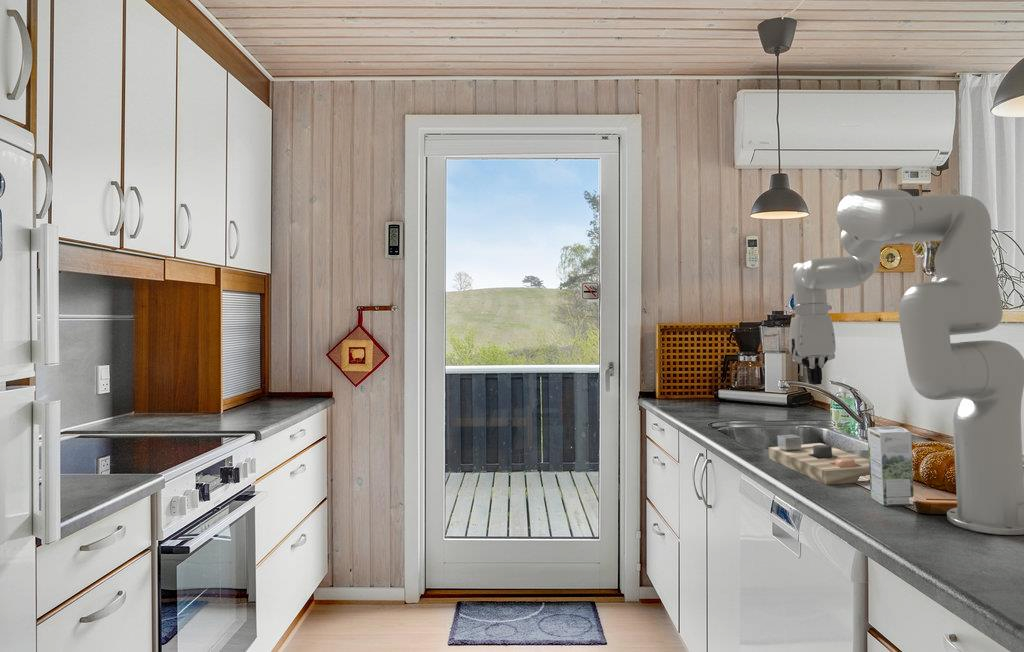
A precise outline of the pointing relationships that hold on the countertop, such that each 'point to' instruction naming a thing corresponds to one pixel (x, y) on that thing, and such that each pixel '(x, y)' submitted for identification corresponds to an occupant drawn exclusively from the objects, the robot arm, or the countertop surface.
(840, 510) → the countertop surface
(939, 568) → the countertop surface
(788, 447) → the steel slider
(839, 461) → the terracotta button
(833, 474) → the light wooden board
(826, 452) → the black button
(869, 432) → the syrup box
